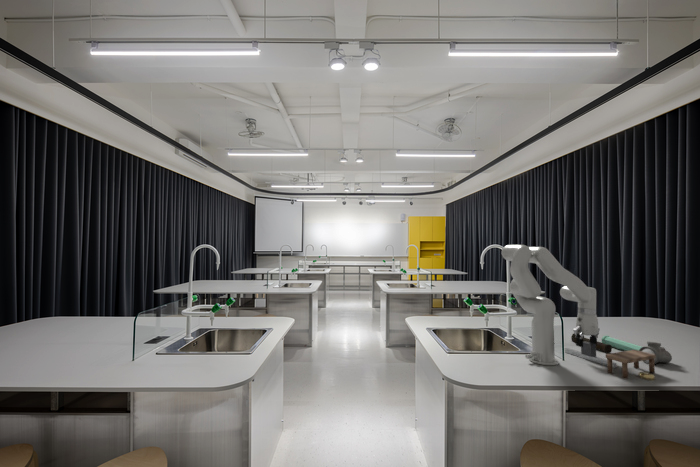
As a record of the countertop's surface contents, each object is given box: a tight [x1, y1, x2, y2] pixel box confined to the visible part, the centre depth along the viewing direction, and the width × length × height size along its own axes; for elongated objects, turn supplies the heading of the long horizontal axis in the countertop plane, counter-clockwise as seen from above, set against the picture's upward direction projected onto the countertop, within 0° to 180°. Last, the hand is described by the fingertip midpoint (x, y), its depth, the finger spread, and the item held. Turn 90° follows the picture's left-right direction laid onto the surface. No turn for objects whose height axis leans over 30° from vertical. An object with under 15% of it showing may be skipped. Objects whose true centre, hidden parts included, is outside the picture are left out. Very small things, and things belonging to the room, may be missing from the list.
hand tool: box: [570, 333, 613, 354], centre depth 183 cm, size 23×5×6 cm, turn 9°
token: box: [638, 371, 656, 381], centre depth 140 cm, size 5×5×2 cm
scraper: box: [564, 341, 617, 369], centre depth 163 cm, size 4×24×8 cm, turn 19°
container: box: [601, 335, 642, 352], centre depth 175 cm, size 6×6×25 cm
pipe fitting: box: [639, 341, 673, 365], centre depth 158 cm, size 12×8×10 cm
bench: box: [605, 350, 655, 380], centre depth 146 cm, size 20×8×8 cm, turn 109°
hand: (586, 345), depth 163 cm, fingers open, 9 cm apart
